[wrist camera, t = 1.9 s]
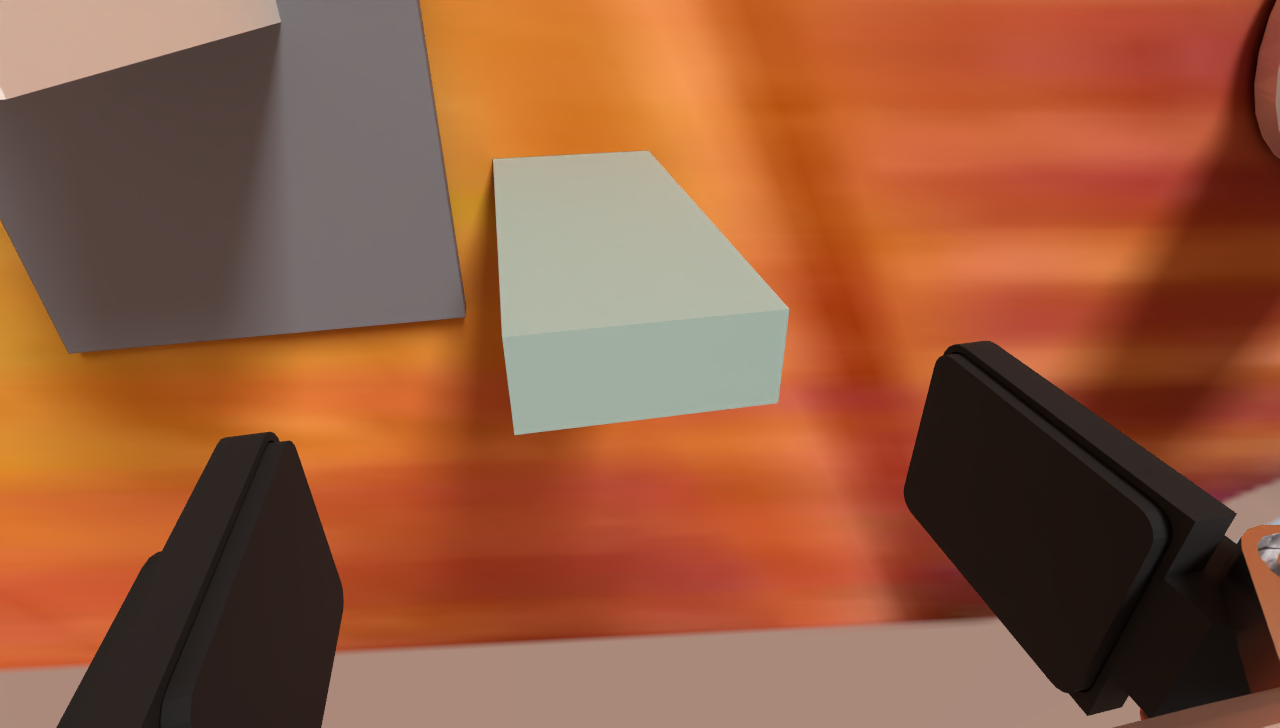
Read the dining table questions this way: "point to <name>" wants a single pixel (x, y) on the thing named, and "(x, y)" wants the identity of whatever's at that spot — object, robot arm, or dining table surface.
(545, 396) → the domino
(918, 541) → the dining table surface
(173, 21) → the domino
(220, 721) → the robot arm
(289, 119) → the rubber mat
